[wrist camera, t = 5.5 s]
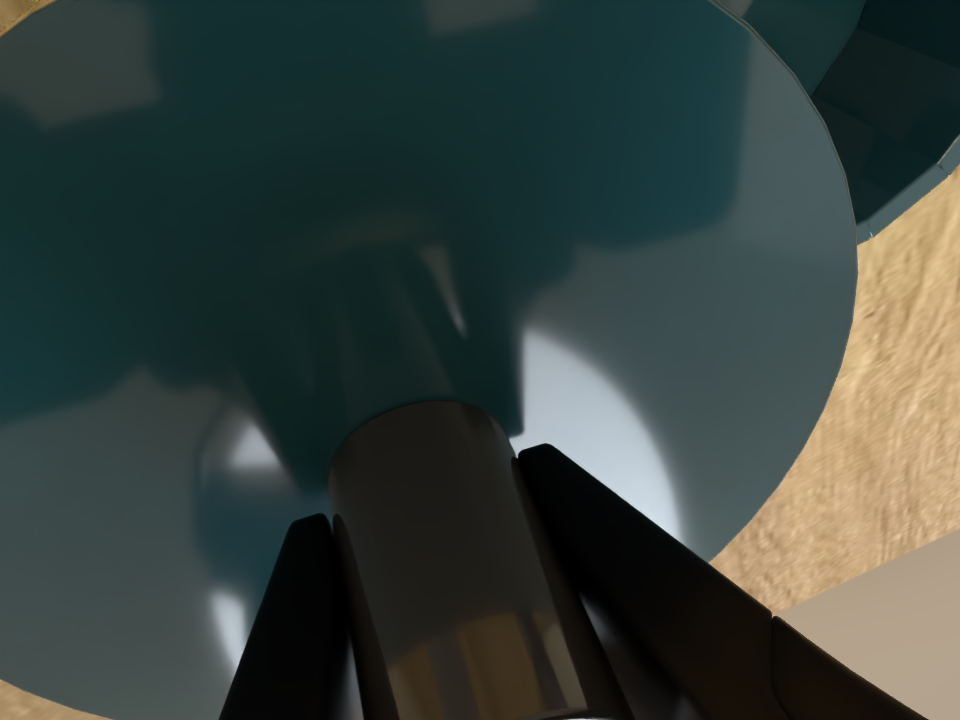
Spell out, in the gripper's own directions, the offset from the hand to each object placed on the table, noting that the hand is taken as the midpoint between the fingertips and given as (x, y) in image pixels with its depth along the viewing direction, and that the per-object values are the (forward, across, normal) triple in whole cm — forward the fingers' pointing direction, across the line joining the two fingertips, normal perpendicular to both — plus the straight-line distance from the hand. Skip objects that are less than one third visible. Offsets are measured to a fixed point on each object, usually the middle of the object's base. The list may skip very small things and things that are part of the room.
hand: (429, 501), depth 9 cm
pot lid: (+1, 0, 0) cm, 1 cm away
